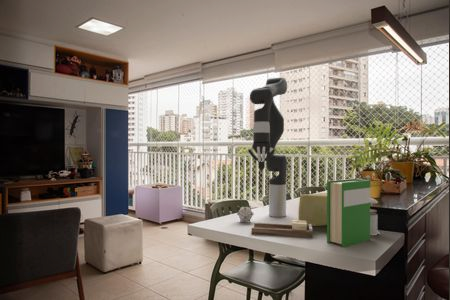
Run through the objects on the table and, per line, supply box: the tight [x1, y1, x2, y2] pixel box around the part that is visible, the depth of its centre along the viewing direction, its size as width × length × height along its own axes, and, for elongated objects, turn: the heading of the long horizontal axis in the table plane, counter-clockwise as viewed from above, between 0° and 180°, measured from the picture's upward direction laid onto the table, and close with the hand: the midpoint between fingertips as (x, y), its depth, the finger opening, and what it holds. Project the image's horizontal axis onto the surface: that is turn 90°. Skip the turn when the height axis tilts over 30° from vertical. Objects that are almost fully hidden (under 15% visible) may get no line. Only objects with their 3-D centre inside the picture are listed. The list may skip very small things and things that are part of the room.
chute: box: [250, 222, 314, 238], centre depth 137 cm, size 10×25×4 cm, turn 78°
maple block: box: [291, 219, 307, 231], centre depth 136 cm, size 6×6×4 cm
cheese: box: [298, 192, 327, 227], centre depth 152 cm, size 22×10×15 cm, turn 110°
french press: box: [365, 175, 381, 236], centre depth 139 cm, size 10×12×25 cm
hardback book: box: [326, 178, 371, 248], centre depth 125 cm, size 18×7×24 cm, turn 125°
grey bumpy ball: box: [236, 205, 254, 223], centre depth 158 cm, size 9×8×10 cm
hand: (261, 169), depth 145 cm, fingers closed
